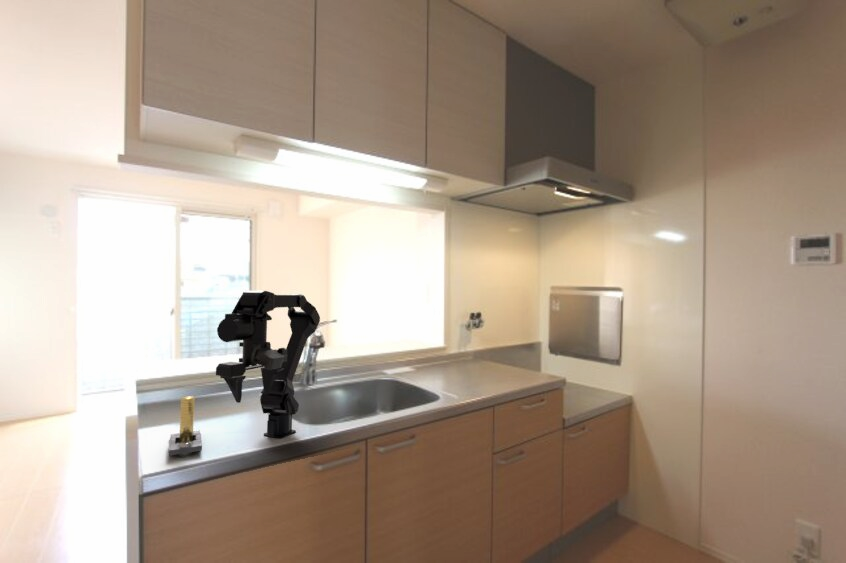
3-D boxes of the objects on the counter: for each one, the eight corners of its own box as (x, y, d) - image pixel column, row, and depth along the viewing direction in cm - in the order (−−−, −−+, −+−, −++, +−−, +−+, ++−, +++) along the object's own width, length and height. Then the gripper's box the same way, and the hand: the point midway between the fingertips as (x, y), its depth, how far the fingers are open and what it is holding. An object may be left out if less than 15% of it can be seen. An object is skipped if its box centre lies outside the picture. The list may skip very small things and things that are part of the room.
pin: (187, 445, 106) (189, 395, 106) (195, 447, 105) (197, 397, 105) (176, 449, 103) (178, 398, 104) (184, 451, 102) (186, 399, 102)
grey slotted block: (170, 438, 111) (171, 427, 111) (199, 434, 114) (199, 424, 114) (168, 460, 96) (168, 448, 96) (201, 455, 100) (202, 443, 100)
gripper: (248, 343, 93) (246, 411, 93) (303, 336, 110) (301, 394, 110) (215, 341, 98) (213, 405, 97) (272, 335, 115) (271, 389, 114)
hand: (253, 398), depth 105 cm, fingers open, 9 cm apart
